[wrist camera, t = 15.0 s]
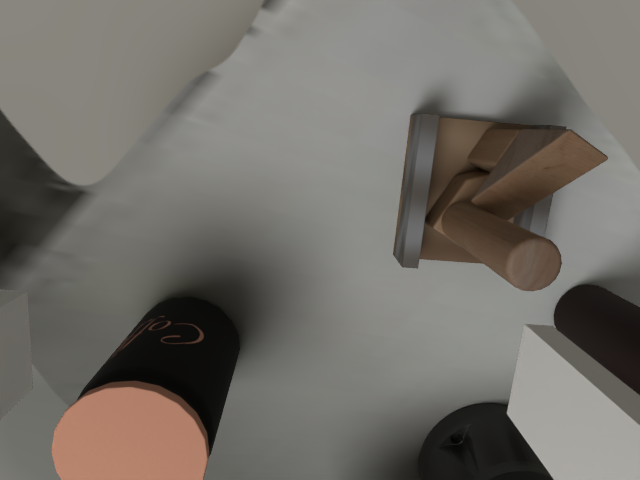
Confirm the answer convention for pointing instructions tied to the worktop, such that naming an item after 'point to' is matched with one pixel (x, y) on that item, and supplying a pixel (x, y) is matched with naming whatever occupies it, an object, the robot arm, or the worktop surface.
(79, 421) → the coffee jar
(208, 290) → the worktop surface
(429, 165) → the metal-railed wooden board
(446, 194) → the brown upright wooden piece
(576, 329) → the bottle
